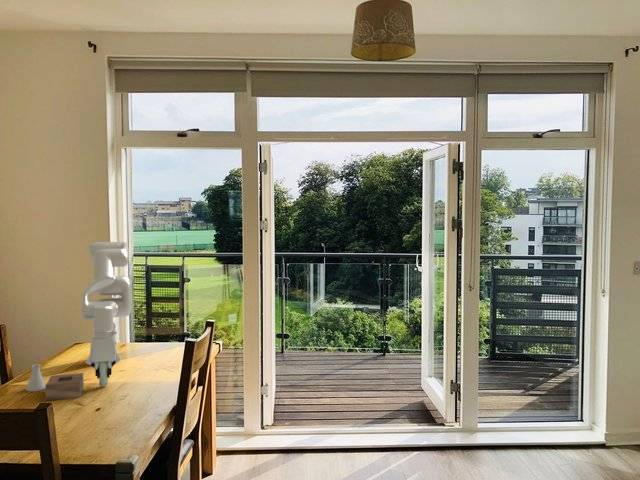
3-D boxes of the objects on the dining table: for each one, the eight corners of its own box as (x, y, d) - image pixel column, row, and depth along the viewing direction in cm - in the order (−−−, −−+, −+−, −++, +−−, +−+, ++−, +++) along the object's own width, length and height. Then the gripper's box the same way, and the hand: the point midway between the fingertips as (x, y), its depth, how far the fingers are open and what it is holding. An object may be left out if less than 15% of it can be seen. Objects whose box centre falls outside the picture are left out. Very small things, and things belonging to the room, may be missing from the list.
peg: (99, 383, 206) (99, 360, 205) (108, 382, 207) (108, 359, 206) (98, 386, 203) (98, 362, 202) (107, 385, 204) (107, 362, 203)
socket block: (51, 389, 200) (51, 375, 200) (83, 386, 205) (83, 372, 204) (45, 400, 189) (45, 385, 189) (79, 396, 193) (79, 382, 193)
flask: (50, 387, 203) (50, 363, 203) (35, 393, 197) (34, 368, 196) (37, 385, 206) (37, 362, 205) (22, 390, 199) (21, 366, 199)
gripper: (124, 331, 210) (124, 372, 211) (82, 333, 204) (83, 376, 206) (124, 335, 203) (124, 378, 204) (80, 338, 197) (80, 382, 198)
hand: (103, 376), depth 205 cm, fingers closed on peg, 3 cm apart
